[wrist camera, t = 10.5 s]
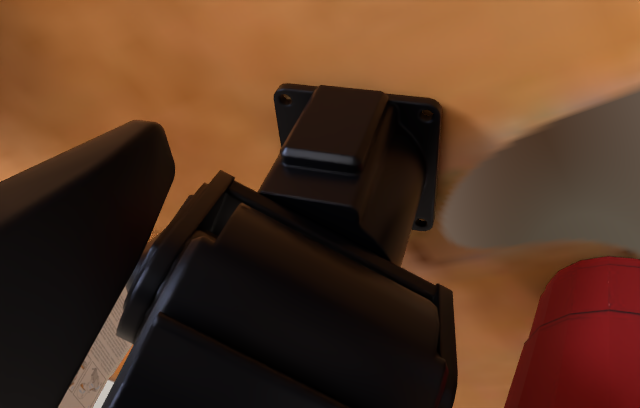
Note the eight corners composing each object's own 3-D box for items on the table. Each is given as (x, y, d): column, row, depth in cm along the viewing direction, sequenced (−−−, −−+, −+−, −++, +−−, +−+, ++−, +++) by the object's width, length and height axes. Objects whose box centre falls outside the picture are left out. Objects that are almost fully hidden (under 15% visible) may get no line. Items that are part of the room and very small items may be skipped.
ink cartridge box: (126, 306, 40) (34, 444, 33) (49, 178, 33) (-87, 321, 26) (157, 311, 39) (69, 454, 33) (86, 182, 32) (-46, 330, 25)
